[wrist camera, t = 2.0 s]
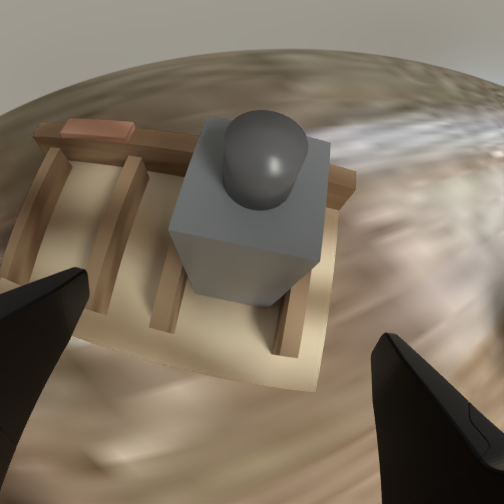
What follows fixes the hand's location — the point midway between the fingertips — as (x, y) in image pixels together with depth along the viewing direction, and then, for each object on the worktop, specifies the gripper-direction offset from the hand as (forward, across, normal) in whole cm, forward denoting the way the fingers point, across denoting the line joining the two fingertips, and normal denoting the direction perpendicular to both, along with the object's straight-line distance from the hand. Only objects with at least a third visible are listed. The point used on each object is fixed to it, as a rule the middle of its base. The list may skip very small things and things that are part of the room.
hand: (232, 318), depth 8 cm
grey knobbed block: (+10, 0, +4) cm, 11 cm away
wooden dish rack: (+11, +6, +5) cm, 13 cm away
